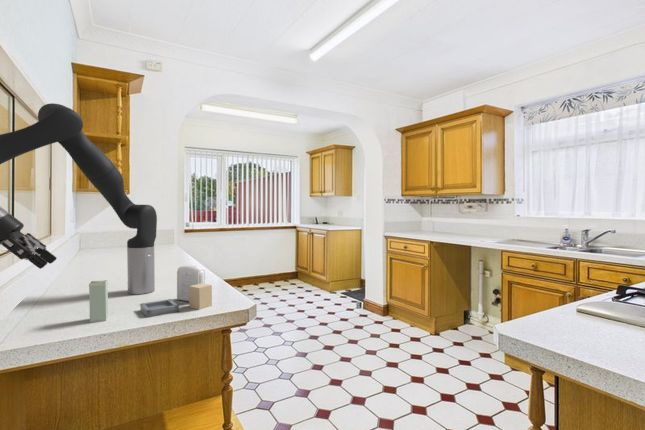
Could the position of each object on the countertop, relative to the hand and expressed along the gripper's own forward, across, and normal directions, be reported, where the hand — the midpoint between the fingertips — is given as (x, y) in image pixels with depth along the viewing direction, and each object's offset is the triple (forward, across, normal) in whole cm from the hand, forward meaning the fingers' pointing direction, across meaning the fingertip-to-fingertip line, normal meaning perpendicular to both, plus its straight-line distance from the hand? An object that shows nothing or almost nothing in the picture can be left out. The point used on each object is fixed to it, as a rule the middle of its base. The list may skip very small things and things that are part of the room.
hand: (49, 263), depth 100 cm
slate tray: (+32, +2, -7) cm, 33 cm away
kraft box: (+40, +2, -16) cm, 44 cm away
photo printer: (+39, +12, -14) cm, 43 cm away
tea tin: (+20, 0, +4) cm, 21 cm away
